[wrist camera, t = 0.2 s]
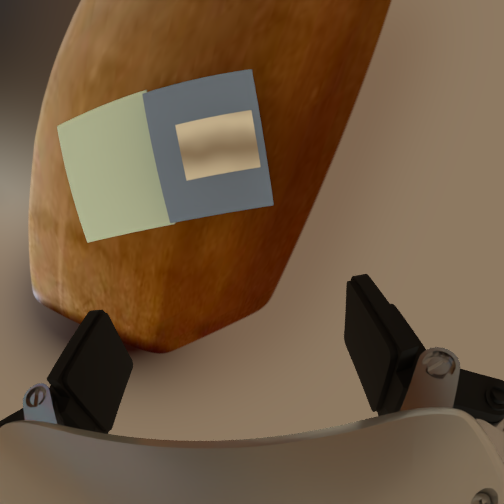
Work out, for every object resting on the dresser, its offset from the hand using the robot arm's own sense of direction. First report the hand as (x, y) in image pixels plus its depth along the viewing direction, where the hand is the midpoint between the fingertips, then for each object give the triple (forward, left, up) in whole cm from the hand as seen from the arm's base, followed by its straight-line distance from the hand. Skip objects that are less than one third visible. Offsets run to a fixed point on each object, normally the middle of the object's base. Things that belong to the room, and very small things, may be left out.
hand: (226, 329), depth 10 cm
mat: (-5, -18, -30) cm, 36 cm away
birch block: (-5, -1, -27) cm, 28 cm away
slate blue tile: (-5, -3, -30) cm, 31 cm away
